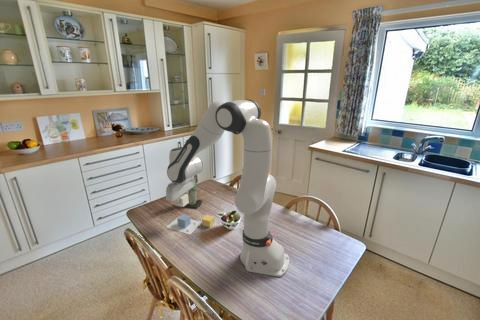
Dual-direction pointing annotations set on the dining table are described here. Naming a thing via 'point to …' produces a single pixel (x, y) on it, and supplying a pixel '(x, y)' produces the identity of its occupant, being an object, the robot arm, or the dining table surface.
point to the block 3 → (208, 221)
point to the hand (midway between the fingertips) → (182, 201)
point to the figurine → (193, 197)
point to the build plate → (186, 230)
